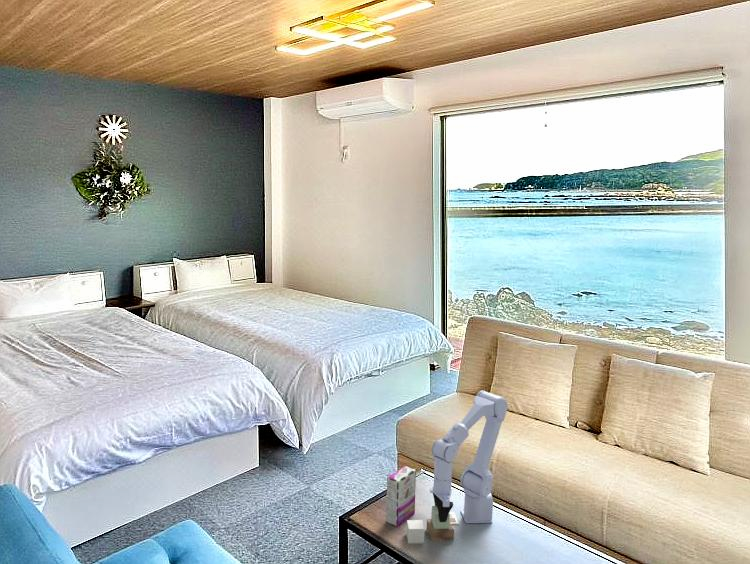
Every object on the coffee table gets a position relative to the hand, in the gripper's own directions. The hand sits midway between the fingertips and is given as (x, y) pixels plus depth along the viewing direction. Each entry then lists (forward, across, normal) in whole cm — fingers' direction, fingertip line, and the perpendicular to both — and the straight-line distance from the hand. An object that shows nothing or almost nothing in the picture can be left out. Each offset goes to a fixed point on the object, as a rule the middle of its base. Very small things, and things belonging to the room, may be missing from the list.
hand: (440, 515), depth 181 cm
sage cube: (+3, 0, 0) cm, 3 cm away
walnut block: (+7, 0, 0) cm, 7 cm away
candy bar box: (+7, -10, -12) cm, 17 cm away
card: (+7, -9, +5) cm, 12 cm away
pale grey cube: (+7, +2, -8) cm, 11 cm away
